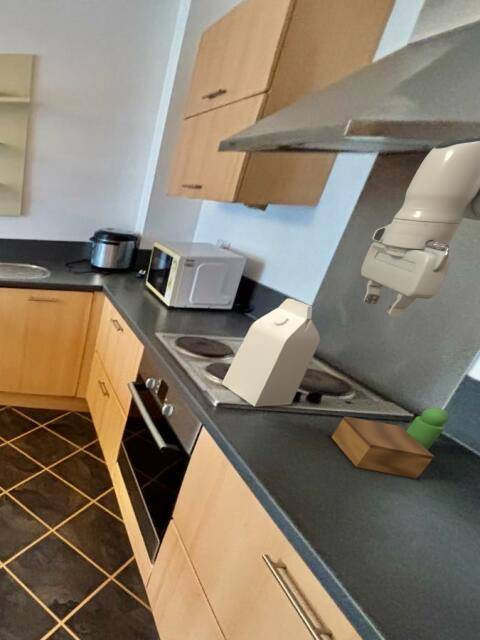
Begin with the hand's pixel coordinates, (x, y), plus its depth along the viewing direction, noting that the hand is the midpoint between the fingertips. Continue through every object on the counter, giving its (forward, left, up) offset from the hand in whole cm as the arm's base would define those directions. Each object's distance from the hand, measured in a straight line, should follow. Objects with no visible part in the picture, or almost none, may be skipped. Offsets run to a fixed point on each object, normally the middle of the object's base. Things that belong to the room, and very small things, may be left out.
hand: (380, 309), depth 83 cm
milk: (+7, -16, -31) cm, 35 cm away
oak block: (-10, +6, -31) cm, 33 cm away
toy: (-22, -2, -31) cm, 38 cm away
